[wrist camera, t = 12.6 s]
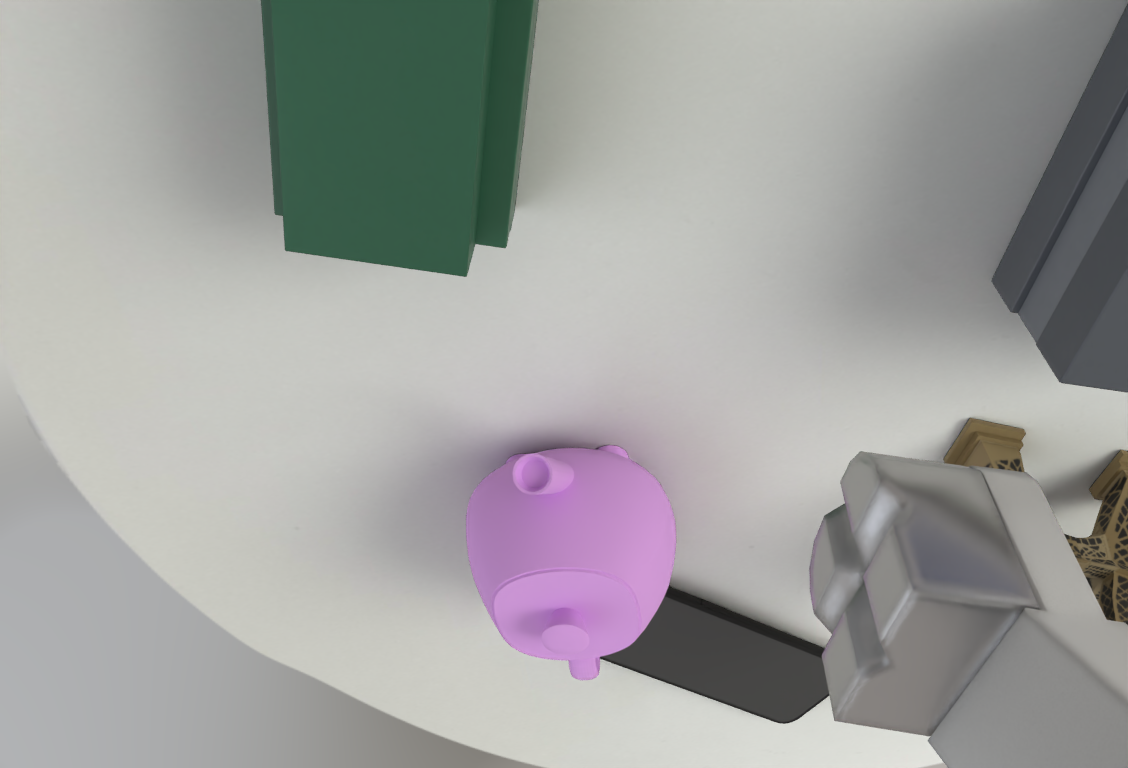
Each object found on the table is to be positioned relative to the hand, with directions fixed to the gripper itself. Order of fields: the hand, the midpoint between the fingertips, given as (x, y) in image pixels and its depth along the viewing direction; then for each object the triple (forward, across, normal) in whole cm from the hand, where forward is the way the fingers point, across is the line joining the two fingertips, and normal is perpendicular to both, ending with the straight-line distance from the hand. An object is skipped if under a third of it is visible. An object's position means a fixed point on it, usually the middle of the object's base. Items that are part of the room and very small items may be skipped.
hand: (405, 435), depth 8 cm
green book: (+24, +5, +6) cm, 25 cm away
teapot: (+28, -4, +28) cm, 40 cm away
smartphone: (+28, -15, +40) cm, 51 cm away
